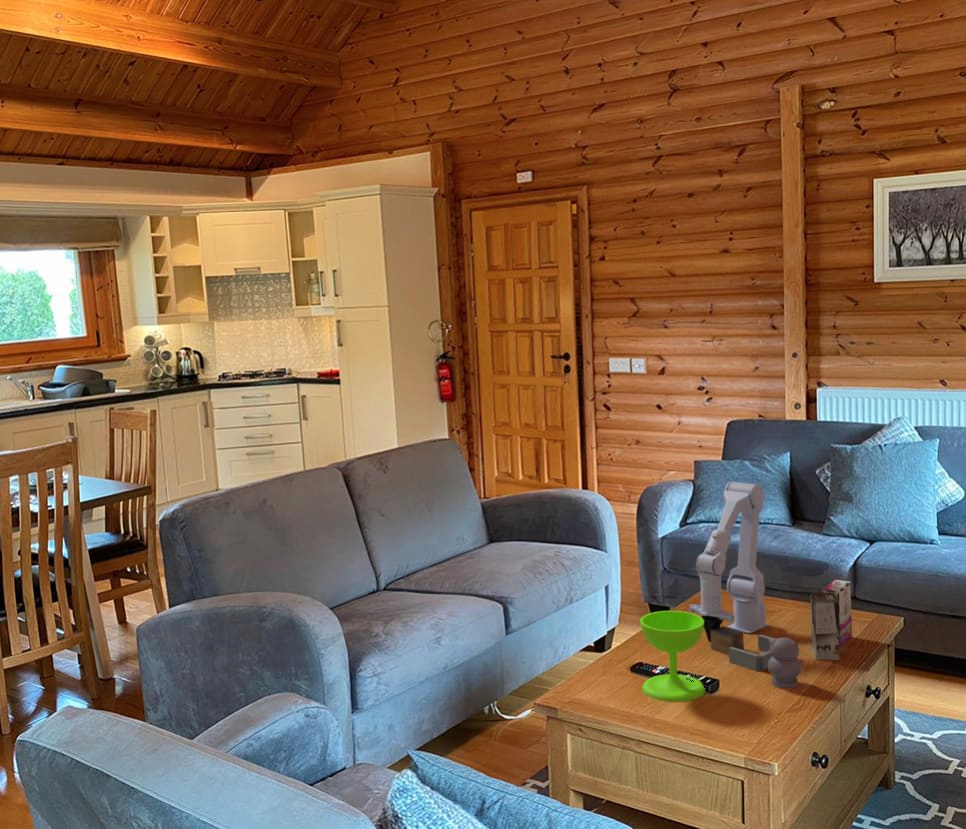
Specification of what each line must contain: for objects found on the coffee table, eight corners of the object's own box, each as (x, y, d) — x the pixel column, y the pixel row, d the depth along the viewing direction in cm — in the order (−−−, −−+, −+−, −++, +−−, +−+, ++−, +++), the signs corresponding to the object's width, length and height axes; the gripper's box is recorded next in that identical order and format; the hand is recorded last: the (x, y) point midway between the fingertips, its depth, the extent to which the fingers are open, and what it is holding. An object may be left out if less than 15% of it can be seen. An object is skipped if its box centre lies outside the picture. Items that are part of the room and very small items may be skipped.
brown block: (723, 644, 277) (722, 626, 276) (743, 650, 271) (743, 631, 271) (711, 649, 274) (710, 630, 273) (731, 655, 268) (731, 636, 267)
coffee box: (840, 660, 261) (839, 602, 259) (815, 659, 262) (814, 602, 260) (835, 648, 270) (834, 592, 268) (810, 647, 271) (810, 591, 269)
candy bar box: (834, 633, 281) (834, 578, 279) (852, 636, 278) (852, 581, 276) (822, 645, 272) (821, 589, 270) (840, 648, 269) (839, 591, 267)
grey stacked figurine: (805, 680, 248) (805, 635, 247) (798, 692, 242) (798, 645, 240) (772, 675, 253) (771, 631, 251) (764, 686, 246) (763, 641, 245)
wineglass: (630, 683, 252) (628, 616, 250) (683, 672, 258) (681, 607, 256) (663, 706, 237) (660, 635, 235) (718, 694, 243) (716, 624, 241)
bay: (760, 648, 272) (760, 634, 272) (791, 657, 265) (791, 643, 264) (729, 662, 263) (728, 647, 263) (760, 671, 256) (760, 657, 255)
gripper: (681, 592, 278) (683, 638, 280) (723, 603, 267) (724, 651, 268) (697, 587, 282) (698, 632, 284) (738, 597, 271) (739, 644, 273)
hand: (712, 641), depth 277 cm, fingers closed
